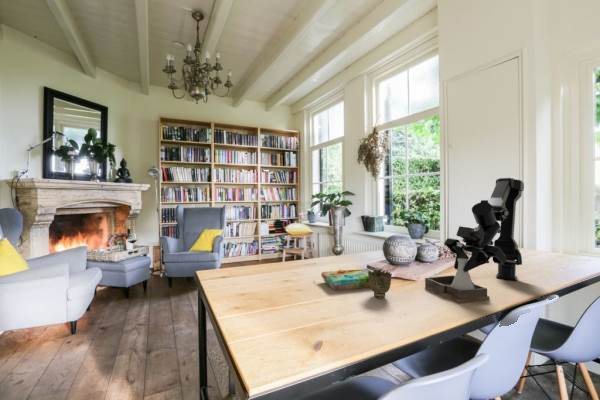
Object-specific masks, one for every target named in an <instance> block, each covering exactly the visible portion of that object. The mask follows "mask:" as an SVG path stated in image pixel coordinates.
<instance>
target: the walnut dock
mask: <svg viewBox="0 0 600 400" xmlns="http://www.w3.org/2000/svg"><path fill="white" fill-rule="evenodd" d="M454 277H455V275H453V274H451V275H444V276H443V275H442V276H432V277H431V276H430V277H425V278H424V283H425V284H424V285H425V286H424V288H425V289H427V290H429V291H431V292H433V293H436V294H438V295H440V296H441V297H444V298H446V299H448V300H451V301H453V302H455V303H457V304H464V303H472V302H480V301H481V302H482V301H489V300H490V298H491V297H490V296H489V295H488V288H487V287H484V286H482V285H479V284H475V283H474V282H473V281H472V283H473V285H474V288H475V289H473V290H464V291H461V290H458V289H456V288H454V287H451V284H452V282H453V280H454Z"/></svg>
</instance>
